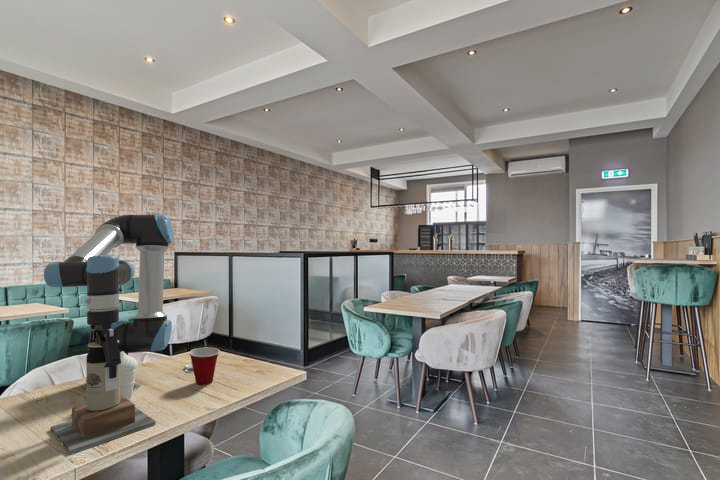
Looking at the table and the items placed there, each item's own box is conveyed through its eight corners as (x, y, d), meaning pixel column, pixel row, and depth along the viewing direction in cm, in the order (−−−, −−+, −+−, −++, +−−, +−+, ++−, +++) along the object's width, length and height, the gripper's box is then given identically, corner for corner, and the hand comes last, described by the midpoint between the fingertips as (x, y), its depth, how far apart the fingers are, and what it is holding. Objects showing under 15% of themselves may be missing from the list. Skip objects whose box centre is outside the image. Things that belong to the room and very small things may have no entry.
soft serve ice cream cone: (143, 395, 130) (143, 349, 130) (121, 405, 122) (121, 356, 122) (125, 393, 133) (125, 347, 133) (102, 402, 125) (102, 353, 125)
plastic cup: (209, 388, 136) (209, 355, 136) (182, 386, 138) (182, 353, 138) (225, 378, 146) (225, 347, 147) (200, 376, 148) (200, 346, 149)
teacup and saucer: (181, 369, 159) (181, 360, 159) (200, 365, 164) (200, 356, 164) (188, 374, 152) (188, 364, 152) (208, 370, 158) (208, 360, 158)
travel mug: (107, 398, 113) (107, 338, 113) (126, 402, 110) (126, 340, 110) (79, 409, 105) (79, 344, 106) (99, 413, 102) (99, 347, 103)
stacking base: (50, 430, 106) (50, 408, 106) (129, 406, 121) (129, 387, 122) (70, 454, 93) (69, 430, 93) (155, 424, 109) (155, 403, 109)
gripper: (74, 307, 113) (74, 378, 113) (102, 315, 97) (102, 399, 97) (103, 303, 119) (104, 371, 118) (134, 311, 103) (134, 390, 102)
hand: (103, 384), depth 108 cm, fingers open, 13 cm apart
